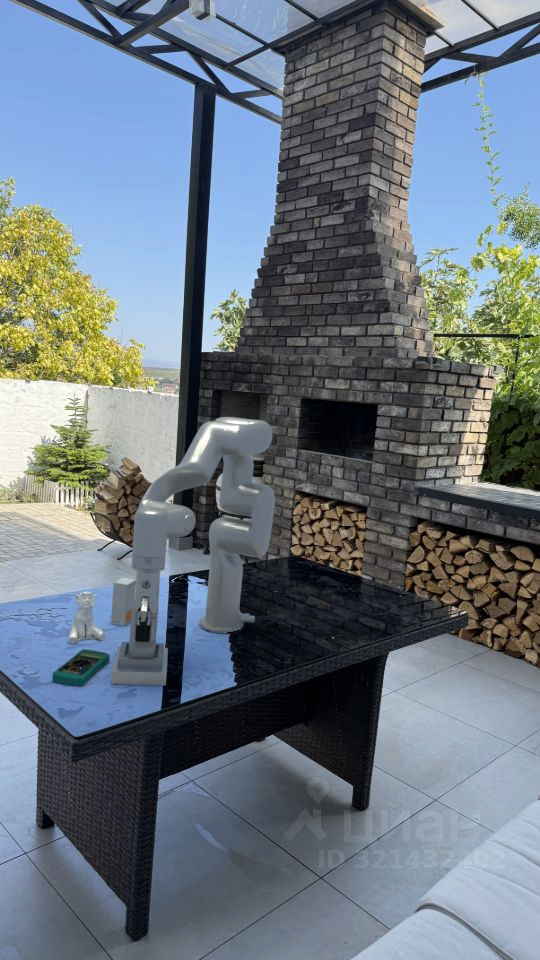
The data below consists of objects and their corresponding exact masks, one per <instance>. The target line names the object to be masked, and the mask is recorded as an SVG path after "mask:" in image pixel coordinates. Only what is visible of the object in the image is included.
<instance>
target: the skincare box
mask: <svg viewBox="0 0 540 960" xmlns="http://www.w3.org/2000/svg"><path fill="white" fill-rule="evenodd" d="M135 589H136V578H128V577H121V578H119V579H118V580H116V581H114V582H113V588H112V602H111V603H112V605H111V615H110V617H111V618H110V624H111V625H115V626H121V627H125V626H126V625H127V624H129V623H131V610H132V602H133V601H134V599H135Z"/></svg>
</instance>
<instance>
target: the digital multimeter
mask: <svg viewBox="0 0 540 960" xmlns="http://www.w3.org/2000/svg"><path fill="white" fill-rule="evenodd" d="M108 663H110V654H109V653H108V652H106V651H99V650H93V649H86V648H83V649H80V650H79V651H78V652H77V653H76V654H75V655H74V656H73V657H72V658H71V657H70V659H69V660H68V661H67V662H65V663H63V664H62V665H61V666H60V667H58V668H57V669H56V670H54V672H52V680H51V681H52V682H54V683H57V684H62V685H66V686H72V685H74V687H84V686H85V684H86V683H88V681H90V680H91V678H92V677H93V676H95V675H96V674H97V673H98V672H99V671H100V670H101V669H102V668H103V667H105V666H106V665H107V664H108ZM96 672H97V673H96Z"/></svg>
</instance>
